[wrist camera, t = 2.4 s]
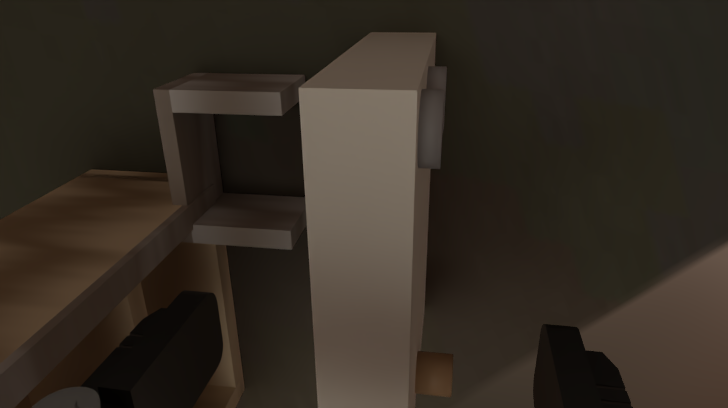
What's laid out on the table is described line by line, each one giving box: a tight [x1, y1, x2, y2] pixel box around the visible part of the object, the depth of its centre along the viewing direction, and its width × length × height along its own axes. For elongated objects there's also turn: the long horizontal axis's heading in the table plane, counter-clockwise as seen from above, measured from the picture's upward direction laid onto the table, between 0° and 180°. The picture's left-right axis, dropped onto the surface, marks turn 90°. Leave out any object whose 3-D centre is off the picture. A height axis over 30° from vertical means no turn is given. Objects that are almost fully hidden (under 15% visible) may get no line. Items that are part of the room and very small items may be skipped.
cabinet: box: [0, 73, 307, 408], centre depth 19 cm, size 10×16×14 cm, turn 0°
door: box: [299, 32, 453, 408], centre depth 17 cm, size 12×4×10 cm, turn 0°
